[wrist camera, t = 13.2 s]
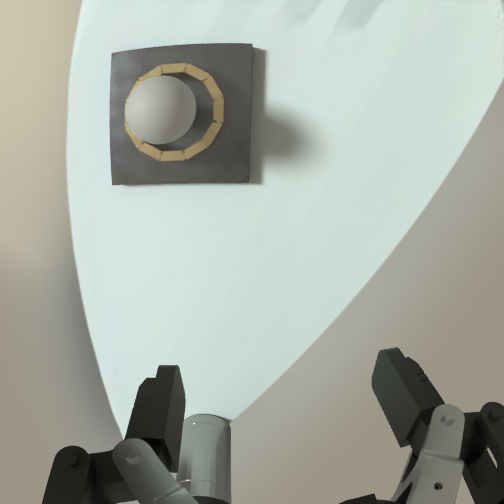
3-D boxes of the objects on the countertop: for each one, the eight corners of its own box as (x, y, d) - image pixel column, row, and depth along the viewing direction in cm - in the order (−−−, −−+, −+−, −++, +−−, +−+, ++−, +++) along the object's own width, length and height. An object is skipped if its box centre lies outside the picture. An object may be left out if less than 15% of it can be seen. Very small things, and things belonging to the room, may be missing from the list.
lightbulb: (201, 82, 30) (186, 63, 20) (208, 135, 33) (195, 139, 23) (147, 92, 30) (111, 80, 20) (154, 144, 33) (120, 153, 23)
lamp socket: (248, 180, 36) (249, 186, 33) (116, 182, 35) (104, 189, 32) (251, 46, 30) (253, 37, 27) (116, 55, 29) (103, 49, 26)
